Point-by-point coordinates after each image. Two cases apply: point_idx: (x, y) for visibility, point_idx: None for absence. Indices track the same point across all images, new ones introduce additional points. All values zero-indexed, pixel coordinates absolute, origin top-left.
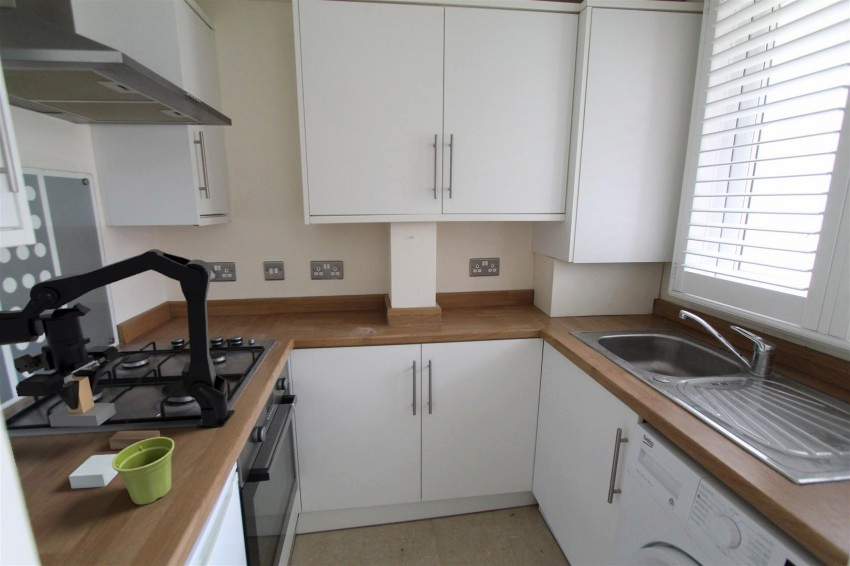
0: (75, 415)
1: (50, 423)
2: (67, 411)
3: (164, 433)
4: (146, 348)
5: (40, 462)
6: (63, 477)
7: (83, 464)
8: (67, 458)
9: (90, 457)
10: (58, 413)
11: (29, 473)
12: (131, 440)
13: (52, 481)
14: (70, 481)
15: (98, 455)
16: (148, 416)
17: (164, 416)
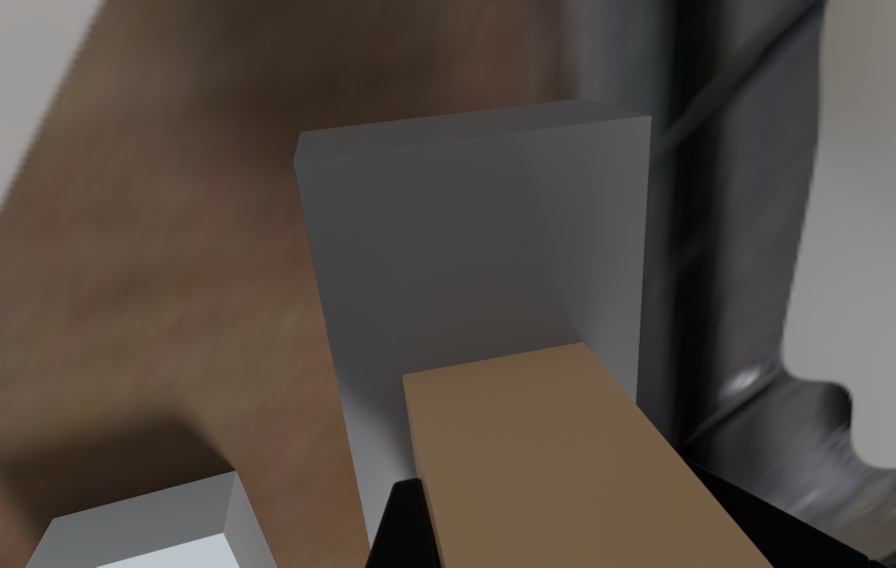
0: (366, 488)
1: (300, 138)
2: (439, 314)
3: None
4: None
5: (180, 76)
6: (107, 395)
7: (134, 564)
8: (267, 238)
9: (203, 541)
10: (380, 240)
11: (55, 127)
12: None
13: (55, 369)
14: (34, 557)
15: (233, 563)
16: (733, 337)
17: (720, 424)
